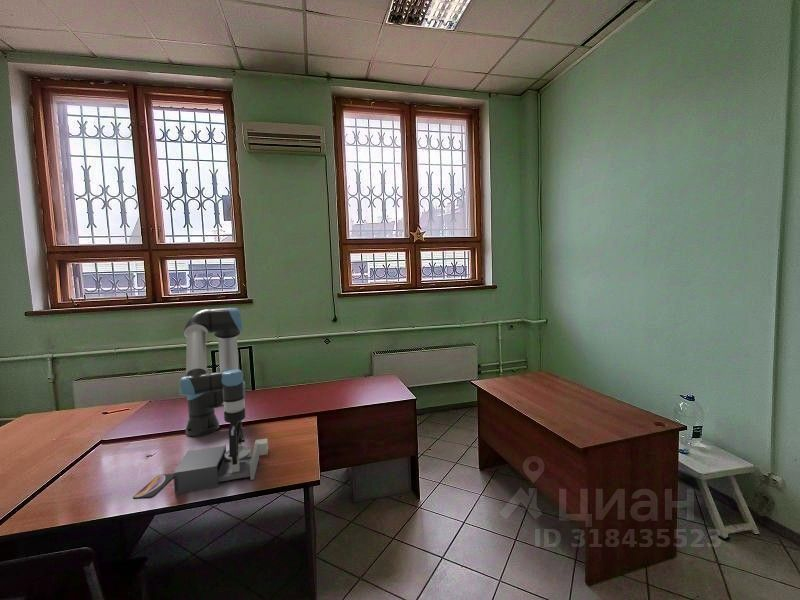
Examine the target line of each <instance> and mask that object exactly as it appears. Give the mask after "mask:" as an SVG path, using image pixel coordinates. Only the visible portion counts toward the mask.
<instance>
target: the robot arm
mask: <svg viewBox="0 0 800 600" xmlns="http://www.w3.org/2000/svg"><path fill="white" fill-rule="evenodd" d="M242 321H243V320H242V316H241V312H240V309H239V308H237V307H224V308H222V307H221V308H211V309H207V308H206V309H201V310H198V311H197V312H195V313H194V314H193V315H192V316H191V317H190V318H189V319H188V320H187V321H186V323H185V325H184V328H183V335H184V337H185V338H186V347H185V348H186V349H185V350H186V351H185V353H186V357H185V360H186V361H185V376H182V377H180V378H179V392H180V395H181V396H184V397H186V396H187V398H186V400H187V407H188V408H187V409H188V410H187V411H188V420H187V423H186V426H185V434H186V436H188V437H201V436H206V435H209V434H212V433H214V432H216V431H217V430H218V429H220V421H219V419H218V417H217V414H216V412H215V411H216V410H215V409H217V408H219V409H220V408H223V410H224V412H223V418H224V422H226V423H230V425H229V427H228V428H229V429H228V436H229V437H228V439H229V440H228V444H229V446H228V447H229V448H228V450H229V453H230V455H228V457H231V467H232V472H238V471H240V465H239V454H238V447H241V446H244V444H243V443H245V439H244V431H243V422H242V420H244V419H245V418H246V409H245V408H246V402H245V398H246V397H245V396H246V382H245V381H244V373H243V371H242V370H241V369H239V356H238V355H239V354H238V353H239V351H238V337H239V336H240V334H241V332H242V331H243V330H244V325H243V322H242ZM208 334H214V337H215V338H216V339H217V343H218V344H217V345H218V359H219V371H218V372H217V371H216V372H209V373H208V361H207V360H208V359H207V340H206V338H207V336H208Z"/></svg>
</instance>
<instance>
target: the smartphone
mask: <svg viewBox="0 0 800 600" xmlns="http://www.w3.org/2000/svg"><path fill="white" fill-rule="evenodd" d="M172 480H174V474H173V473H167V474H166V473H165V474H158V475H156V476H155V477H154V478H153V479H151V480H150V482H148V483H147V484H146V485H145V486H143V488H141V490H139V491H138V492H136V494H134V496H133V497H132V499H133V500H138V499H139V500H141V499H152V498H154V497H155V496H157V495H158V494H159V493H160V492H161V491H162V490H163V489H164V488H165V487H166V486H168V484H169V483H170V482H171V481H172Z"/></svg>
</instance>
